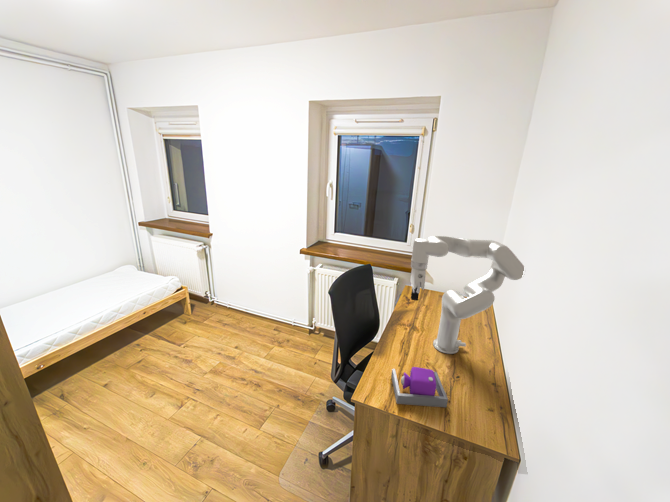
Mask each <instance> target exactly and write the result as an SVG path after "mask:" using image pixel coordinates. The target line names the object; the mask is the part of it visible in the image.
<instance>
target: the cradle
mask: <svg viewBox="0 0 670 502" xmlns="http://www.w3.org/2000/svg"><path fill="white" fill-rule="evenodd" d="M433 372H434V375H435V380H436V392H437V394H438V395H435V396H429V395H415V394H410V393H403V392H401V391H400V390H401V389H400V386H399V381H398V377H397V372H396V369H395V368H392V369H391V382H392V386H393V393H394V397H395V402H396V404H397V405H411V406H422V407H423V406H424V407H436V408H437V407H438V408H447V407H448V406H447V405H448V400H449V398H448V395H447V393H446V391H445V389H444V386H443V384H442V381H441V379H440V377H439V375H438V372H437V371H433Z"/></svg>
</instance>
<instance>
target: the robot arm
mask: <svg viewBox="0 0 670 502" xmlns="http://www.w3.org/2000/svg"><path fill="white" fill-rule="evenodd" d="M412 244H413V245H412V251H411V252H412V254H411V261H410V268H411V271H410V280H409V281H410V284H411V292H410V293H411V294H410V299H411V301H419V294H420V292H421V290H422V291H424V290H425V286H426V285H425V284H426V275H427V274H426V270H427V269H428V263H429V259H430V258H429V257H430V256H431V257H435V258H436V257H437V258H443V257H445V256H447V255H448V253H452V254H455V255H458V256H461V257H463V258H475V259H477V258H478V259H489V260H490V261H491V266H490V269H489V271H488V272H487V273H486V274H484V275H482V276H481V277H478V278H477V279H475V280H472V281H470V282H468V283H467V284H465V286H463V289H462V291H463V294H464V295H465V296H464V295H463V294H462V293H461V292H459V291H458V290H457V289H448V290H446V291H445V292H444V293H443V295H442V297H441V311H440V312H441V313H440V319H439V326H438V331H437V336H436V338H435V339H434V340H433V341H432V342H433V343H432V345H433V348H435V349H436V350H437V351H439V352H440V353H442V354H443V353H444V354H448V355H453V354H456V353H458V352H459V349H460V348H459V347H466V346H467V343H466V342H463V341H462V340H461V339H458V337H459V331H460V327H461V326H460V325H461V322H462V320H465V319H469V318H471V317H472V316H475V315H476V314H479V313H481V312H483V311H484V312H485V310H488V309H489V308H491V306H492V305H493V304H494V303H495V299H496V298H495V295H494V293H493V292H495V291H496V290H498V289H499V288H500V287H501V286H502V285H503V283H504V281H505V277H506V278H507V279H509V280H512V281H518V280H521V279H522V278H523V277H522V275H523V271H524V267H525V266H524V264H523V262H521V260H520V259H519V258H518V257H517V256H516V254H515V253H514V252H513V251H512V250H511V249H510V248H509V247H508V246H507V245H505V244H503V243H501V242H499V241H495V240H492V239H469V238H467V239H466V238H460V237H454V236H445V235H443V236H442V235H431V236H429V237H427V238H420V237H419V238H416V239H414V240H413V243H412Z"/></svg>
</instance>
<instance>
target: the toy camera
mask: <svg viewBox="0 0 670 502" xmlns="http://www.w3.org/2000/svg"><path fill="white" fill-rule="evenodd" d="M434 372H435V371H434V370H432V369H430V368H429V369H428V368H423V367H418V366H417V367H416V366H412V367H411V370H410V374H409V375H408V374H407V372H403V373H402V374H403V375H402V376H401V378H400V382H401V385H402V389H403V390H404V389H407V388H408V387H409V388H408V389H409V394H415V395H429V396H436V392H437V389H436V380H435V375H434Z"/></svg>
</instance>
